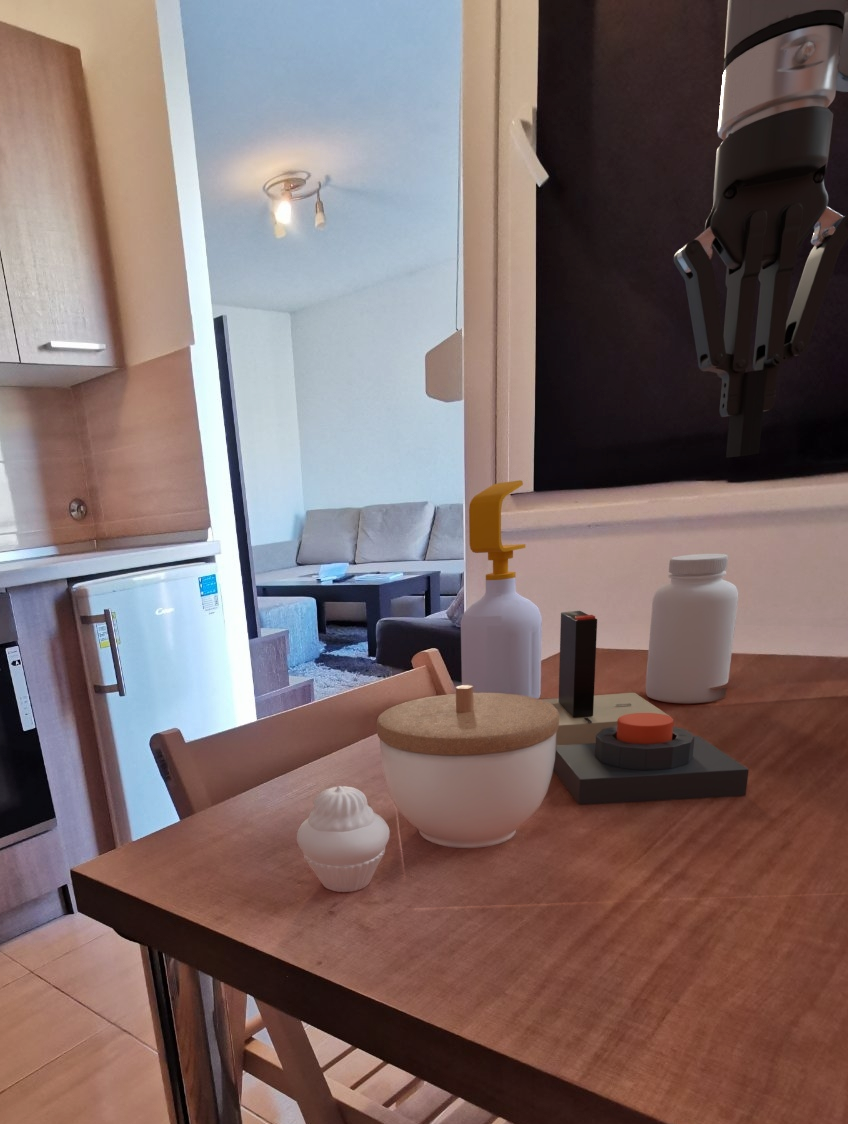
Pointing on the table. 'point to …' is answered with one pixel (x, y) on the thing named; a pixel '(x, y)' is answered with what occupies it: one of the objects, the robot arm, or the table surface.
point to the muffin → (343, 839)
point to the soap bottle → (499, 611)
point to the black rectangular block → (577, 663)
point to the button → (645, 728)
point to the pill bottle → (692, 631)
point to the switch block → (648, 770)
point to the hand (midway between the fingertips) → (742, 455)
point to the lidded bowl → (468, 763)
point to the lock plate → (598, 717)
